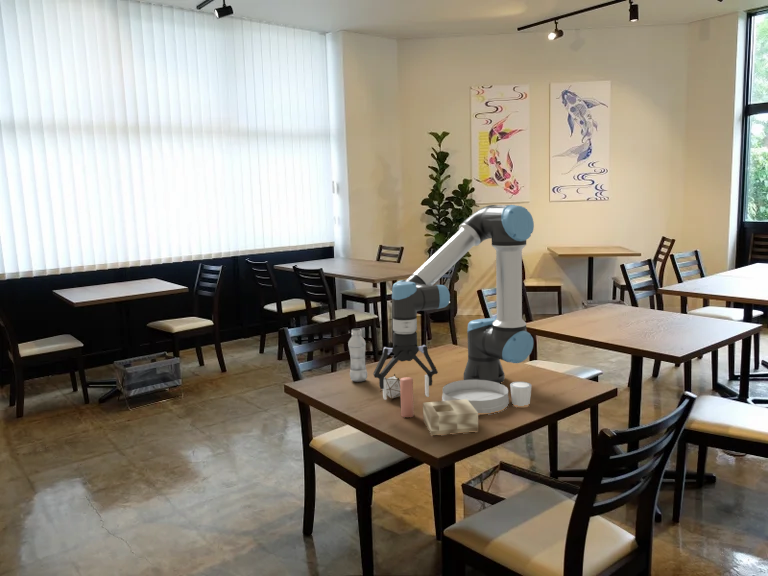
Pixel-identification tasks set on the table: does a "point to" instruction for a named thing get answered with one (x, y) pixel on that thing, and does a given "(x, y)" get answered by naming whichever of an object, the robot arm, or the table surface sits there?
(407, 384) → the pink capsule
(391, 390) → the game die
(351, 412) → the table surface
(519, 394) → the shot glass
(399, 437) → the table surface
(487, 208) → the robot arm
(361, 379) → the plastic bottle
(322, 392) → the table surface
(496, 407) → the dish
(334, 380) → the table surface
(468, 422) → the birch block
